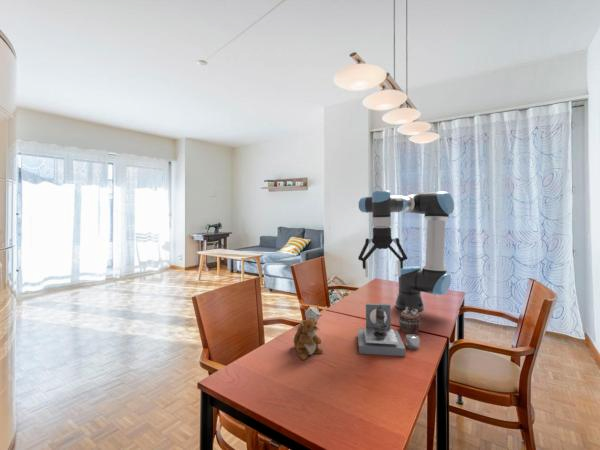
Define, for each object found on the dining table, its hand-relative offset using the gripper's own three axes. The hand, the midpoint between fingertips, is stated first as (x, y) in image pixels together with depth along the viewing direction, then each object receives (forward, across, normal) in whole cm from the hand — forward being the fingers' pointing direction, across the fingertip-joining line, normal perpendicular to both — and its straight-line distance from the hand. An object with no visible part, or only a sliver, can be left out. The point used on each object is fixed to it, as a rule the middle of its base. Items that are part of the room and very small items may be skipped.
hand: (382, 276), depth 125 cm
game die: (+27, +32, -13) cm, 44 cm away
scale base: (+26, +3, +9) cm, 28 cm away
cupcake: (+27, -13, -9) cm, 32 cm away
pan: (+23, +3, +10) cm, 26 cm away
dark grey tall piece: (+22, +3, +10) cm, 24 cm away
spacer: (+27, -10, +8) cm, 30 cm away
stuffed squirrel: (+26, +32, +17) cm, 45 cm away
